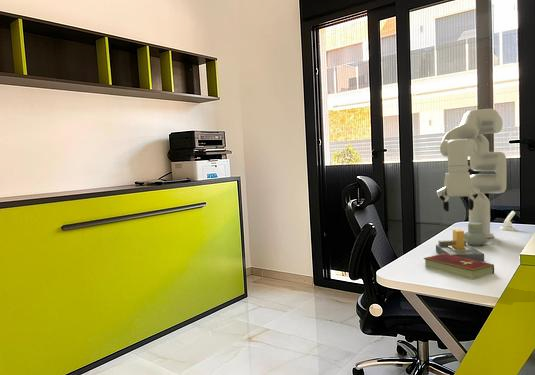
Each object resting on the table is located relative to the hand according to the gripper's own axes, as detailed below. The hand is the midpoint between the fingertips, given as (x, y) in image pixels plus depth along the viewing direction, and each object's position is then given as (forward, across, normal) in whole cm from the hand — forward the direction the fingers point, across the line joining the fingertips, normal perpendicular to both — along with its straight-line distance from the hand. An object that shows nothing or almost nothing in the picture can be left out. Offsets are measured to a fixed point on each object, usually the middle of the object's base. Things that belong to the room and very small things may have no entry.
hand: (458, 210), depth 171 cm
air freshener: (+20, -15, -19) cm, 32 cm away
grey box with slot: (+20, 0, +1) cm, 20 cm away
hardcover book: (+20, +8, +20) cm, 30 cm away
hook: (+21, -45, -51) cm, 71 cm away
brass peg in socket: (+20, 0, +1) cm, 20 cm away
